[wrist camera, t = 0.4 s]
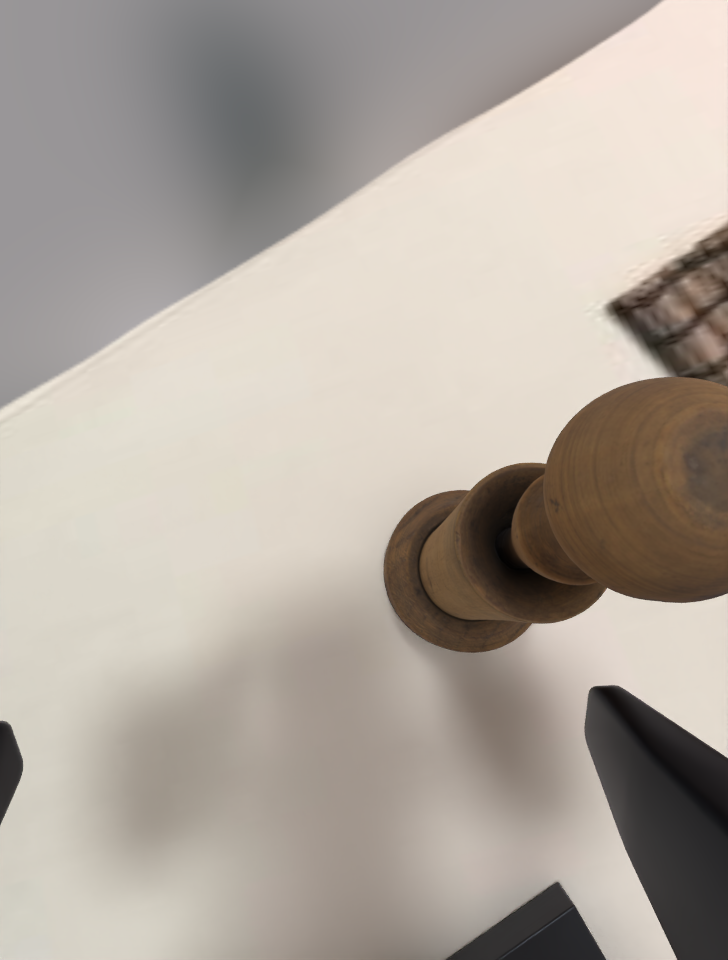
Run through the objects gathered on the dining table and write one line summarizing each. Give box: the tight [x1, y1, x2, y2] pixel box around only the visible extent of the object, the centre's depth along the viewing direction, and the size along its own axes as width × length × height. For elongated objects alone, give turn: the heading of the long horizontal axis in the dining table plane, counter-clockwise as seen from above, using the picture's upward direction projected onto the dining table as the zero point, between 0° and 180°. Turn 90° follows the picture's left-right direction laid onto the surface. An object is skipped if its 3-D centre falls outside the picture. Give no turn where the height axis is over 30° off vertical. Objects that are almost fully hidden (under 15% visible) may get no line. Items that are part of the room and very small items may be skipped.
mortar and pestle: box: [384, 377, 728, 653], centre depth 15 cm, size 7×6×18 cm
